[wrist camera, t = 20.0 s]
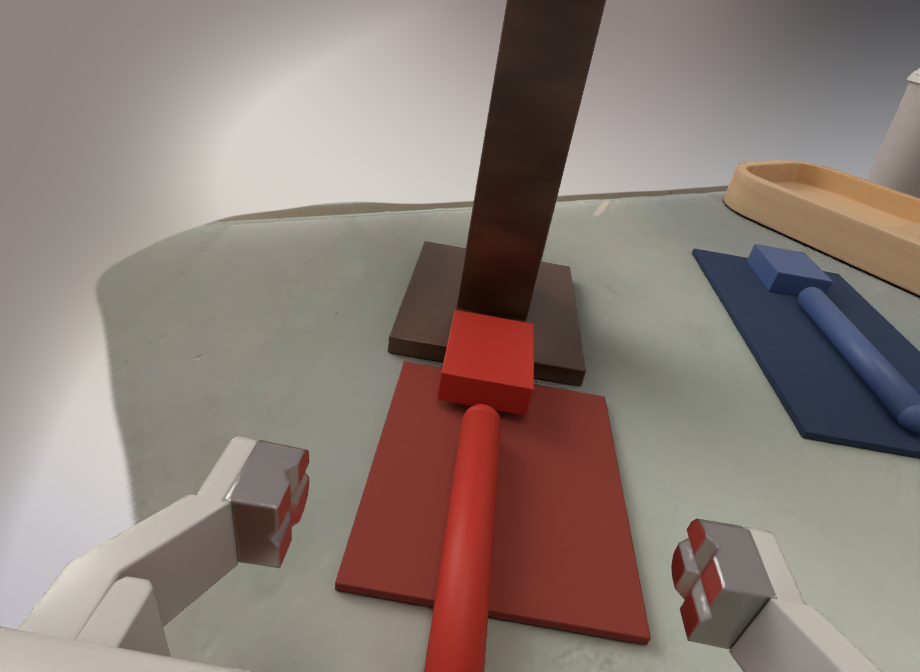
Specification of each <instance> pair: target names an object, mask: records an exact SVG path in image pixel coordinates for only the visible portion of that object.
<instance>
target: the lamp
mask: <svg viewBox="0 0 920 672" xmlns="http://www.w3.org/2000/svg"><path fill="white" fill-rule="evenodd" d="M724 202H725V203H726V204H727V205H728V206H729V207H730V208H731V209H732V210H734V211H735V212H737V213H739V214H740V215H742V216H744V217H746V218H749V219H751V220H753V221H755V222H757V223H759V224H762V225H764V226H766V227H768V228H770V229H773V230H775V231H777V232H779V233H781V234H784V235H786V236H788V237H790V238H792V239H795V240H797V241H799V242H801V243H803V244H806V245H808V246H810V247H812V248H814V249H817V250H819V251H821V252H823V253H825V254H828V255H830V256H832V257H834V258H836V259H839V260H841V261H843V262H845V263H847V264H850V265H852V266H854V267H856V268H858V269H861V270H863V271H865V272H867V273H869V274H872V275H874V276H876V277H878V278H880V279H883V280H885V281H887V282H889V283H891V284H894V285H896V286H898V287H900V288H902V289H905V290H907V291H909V292H911V293H913V294H916V295H918V296H920V198H917V197H914V196H911V195H908V194H905V193H902V192H899V191H897V190H894V189H891V188H888V187H885V186H882V185H879V184H876V183H873V182H871V181H868V180H865V179H862V178H859V177H856V176H853V175H850V174H847V173H844V172H841V171H838V170H834V169H831V168H827V167H824V166H819V165H815V164H810V163H805V162H799V161H792V160H772V161H755V162H743V163H740V164H738V165H737V168H736V170H735V172H734V175H733V177H732V179H731V182H730V184H729V187H728V189H727V191H726V194H725V196H724Z"/></svg>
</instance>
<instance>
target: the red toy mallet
mask: <svg viewBox="0 0 920 672" xmlns="http://www.w3.org/2000/svg"><path fill="white" fill-rule="evenodd" d="M533 390H534V324H532V323H526V322H520V321H515V320H509V319H504V318H498V317H492V316H487V315H481V314H476V313H470V312H464V311H459V310H455V311H454V316H453V320H452V325H451V330H450V334H449V339H448V344H447V348H446V353H445V358H444V362H443V367H442V372H441V378H440V384H439V391H438V397H437V399H438V400H442V401H448V402H453V403H459V404H464V405H470V406H472V407H470V408H469V409H468V410H467V411H466V412H465V414H464V416H463V419H462V424H461V430H460V437H459V444H458V450H457V457H456V464H455V470H454V477H453V484H452V490H451V497H450V504H449V510H448V517H447V524H446V530H445V537H444V544H443V550H442V557H441V564H440V570H439V577H438V583H437V590H436V597H435V603H434V610H433V617H432V623H431V630H430V637H429V643H428V650H427V657H426V663H425V670H424V672H484V665H485V651H486V636H487V622H488V607H489V593H490V578H491V564H492V549H493V534H494V520H495V505H496V491H497V476H498V462H499V447H500V433H501V420H500V417H499V414H498V413H497V412H496V410H498V411H503V412H509V413H515V414H520V415H526V414H527V411H528V407H529V404H530V400H531V397H532V394H533Z"/></svg>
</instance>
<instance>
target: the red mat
mask: <svg viewBox="0 0 920 672" xmlns="http://www.w3.org/2000/svg"><path fill="white" fill-rule="evenodd" d="M441 372H442V368H439V367H433V366H427V365H422V364H416V363H410V362H404V363H403V367H402V370H401V373H400V376H399V380H398V383H397V386H396V389H395V392H394V396H393V399H392V402H391V405H390V408H389V412H388V415H387V418H386V421H385V425H384V428H383V431H382V434H381V437H380V441H379V444H378V447H377V450H376V453H375V457H374V460H373V463H372V466H371V470H370V473H369V476H368V479H367V482H366V486H365V489H364V492H363V495H362V498H361V502H360V505H359V508H358V511H357V515H356V518H355V521H354V524H353V527H352V531H351V534H350V537H349V540H348V543H347V547H346V550H345V553H344V556H343V560H342V563H341V566H340V569H339V572H338V576H337V579H336V582H335V589H336V590H339V591H345V592H351V593H356V594H362V595H368V596H373V597H379V598H385V599H390V600H396V601H402V602H407V603H413V604H419V605H424V606H430V607H434V603H435V597H436V590H437V583H438V577H439V570H440V564H441V557H442V550H443V544H444V537H445V530H446V524H447V517H448V510H449V504H450V497H451V490H452V484H453V477H454V470H455V464H456V457H457V450H458V444H459V437H460V430H461V424H462V419H463V416H464V414H465V412H466V411H467V410H468V409H469V408H470V407H472V406H470V405H464V404H459V403H453V402H448V401H442V400H438V399H437V397H438V391H439V384H440V378H441ZM496 412H497V413H498V414H499V417H500V420H501V433H500V447H499V462H498V476H497V491H496V505H495V520H494V534H493V549H492V564H491V578H490V593H489V607H488V617H492V618H498V619H504V620H509V621H515V622H521V623H526V624H532V625H538V626H543V627H549V628H555V629H560V630H566V631H572V632H577V633H583V634H588V635H594V636H600V637H605V638H611V639H617V640H622V641H628V642H634V643H639V644H645V645H646V644H648V642H649V641H650V639H651V637H650V632H649V627H648V622H647V616H646V611H645V606H644V601H643V595H642V590H641V585H640V579H639V574H638V569H637V564H636V558H635V553H634V548H633V543H632V537H631V532H630V527H629V521H628V516H627V511H626V506H625V500H624V495H623V490H622V485H621V479H620V474H619V469H618V463H617V458H616V453H615V448H614V442H613V437H612V432H611V427H610V421H609V416H608V411H607V405H606V400H605V397H604V396H598V395H592V394H586V393H581V392H575V391H569V390H564V389H558V388H552V387H547V386H541V385H535V384H534V390H533V394H532V397H531V400H530V404H529V407H528V411H527V414H526V415H520V414H515V413H509V412H503V411H498V410H496Z"/></svg>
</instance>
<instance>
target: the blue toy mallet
mask: <svg viewBox="0 0 920 672" xmlns="http://www.w3.org/2000/svg"><path fill="white" fill-rule="evenodd" d="M747 263H748V265H749V266H750V267H751V269H752V270H753V271H754V273H755V274H756V275H757V276H758V278H759V279H760V280H761V282H762V283H763V284H764V286H765V287H766V288H767V289H768V291H771V292H777V293H782V294H788V295H794V296H798V302H799V304H800V306H801V307H802V308H803V309H804V310H805V312H806V313H807V314H808V315H809V316H810V318H811V319H812V320H813V321H814V323H815V324H816V325H817V326H818V327H819V329H820V330H821V331H822V332H823V333H824V335H825V336H826V337H827V338H828V339H829V341H830V342H831V343H832V344H833V345H834V347H835V348H836V349H837V350H838V351H839V353H840V354H841V355H842V356H843V357H844V359H845V360H846V361H847V362H848V363H849V365H850V366H851V367H852V368H853V369H854V371H855V372H856V373H857V374H858V375H859V377H860V378H861V379H862V380H863V381H864V383H865V384H866V385H867V386H868V387H869V389H870V390H871V391H872V392H873V393H874V395H875V396H876V397H877V398H878V399H879V401H880V402H881V403H882V404H883V405H884V407H885V408H886V409H887V410H888V411H889V413H890V414H891V415H892V416H893V418H894V419H895V420H896V421H897V422H898V424H899V425H900V426H901V427H903V428H904V429H906V430H908V431H911V432H917V433H920V395H919V394H918V393H917V392H916V391H915V389H914V388H913V387H912V386H911V385H910V384H909V383H908V382H907V381H906V380H905V379H904V378H903V377H902V376H901V375H900V373H899V372H898V371H897V370H896V369H895V368H894V367H893V366H892V365H891V364H890V363H889V362H888V361H887V360H886V359H885V357H884V356H883V355H882V354H881V353H880V352H879V351H878V350H877V349H876V348H875V347H874V346H873V345H872V344H871V343H870V341H869V340H868V339H867V338H866V337H865V336H864V335H863V334H862V333H861V332H860V331H859V330H858V329H857V328H856V327H855V326H854V324H853V323H852V322H851V321H850V320H849V319H848V318H847V317H846V316H845V315H844V314H843V313H842V312H841V311H840V310H839V308H838V307H837V306H836V305H835V304H834V303H833V302H832V301H831V300H830V299H829V298H828V297H827V296H826V293H827V292H828V290H829V288H830V287H831V285H832V283H833V281H832V280H831V279H830V278H829V277H828V276H827V275H826V274H825V273H824V272H823V271H822V270H821V269H820V268H819V267H818V266H817V265H816V264H815V263H814V262H813V261H812V260H811V259H810V258H809V257H808V256H807V255H806V254H805V253H803V252H797V251H791V250H785V249H780V248H774V247H768V246H763V245H757V244H755V245H754V247H753V249H752V251H751V253H750V255H749V257H748V259H747Z"/></svg>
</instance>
